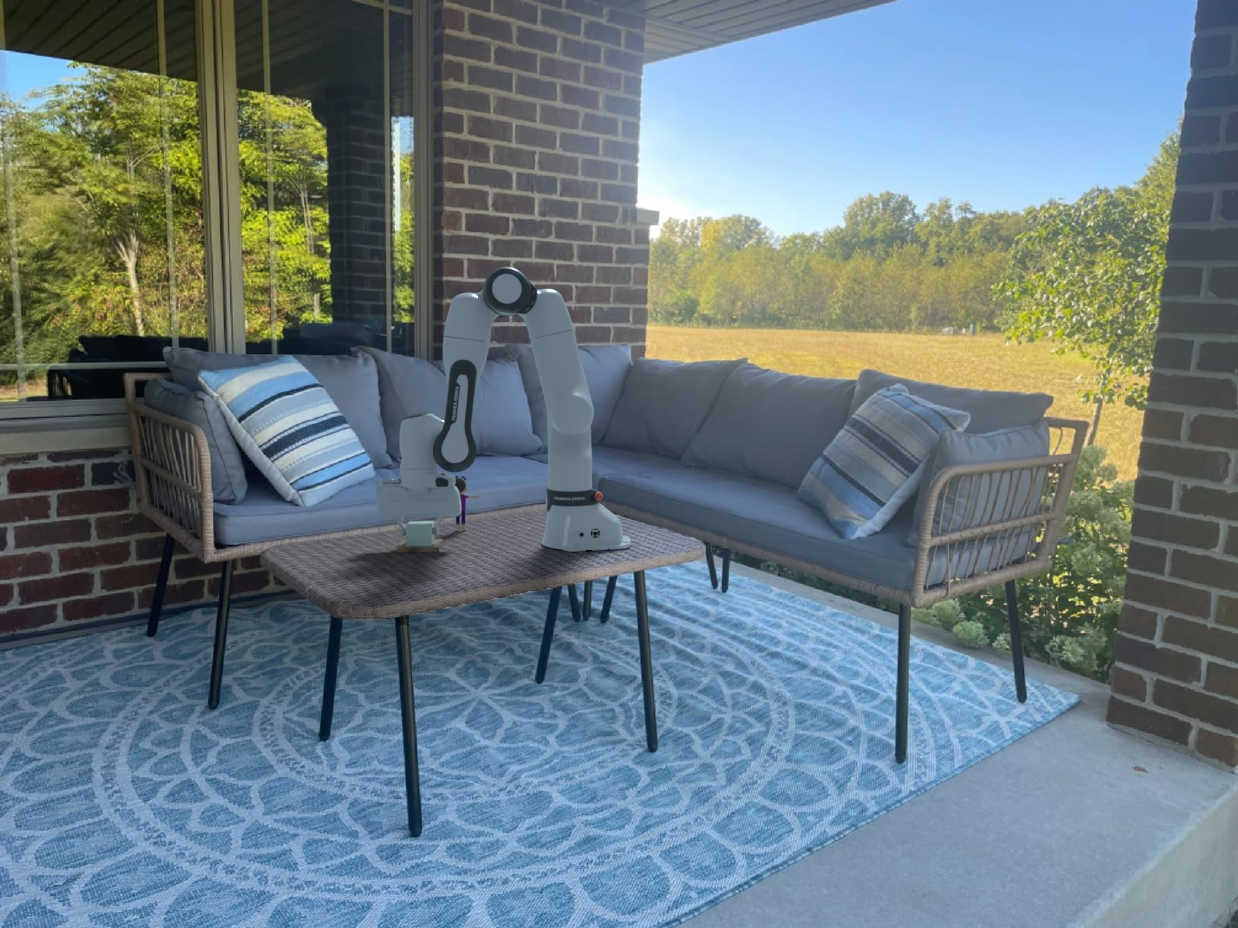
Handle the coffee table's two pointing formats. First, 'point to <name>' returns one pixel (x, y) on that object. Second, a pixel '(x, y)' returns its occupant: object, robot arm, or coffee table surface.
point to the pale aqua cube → (419, 533)
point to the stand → (420, 547)
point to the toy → (462, 501)
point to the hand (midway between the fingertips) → (420, 534)
